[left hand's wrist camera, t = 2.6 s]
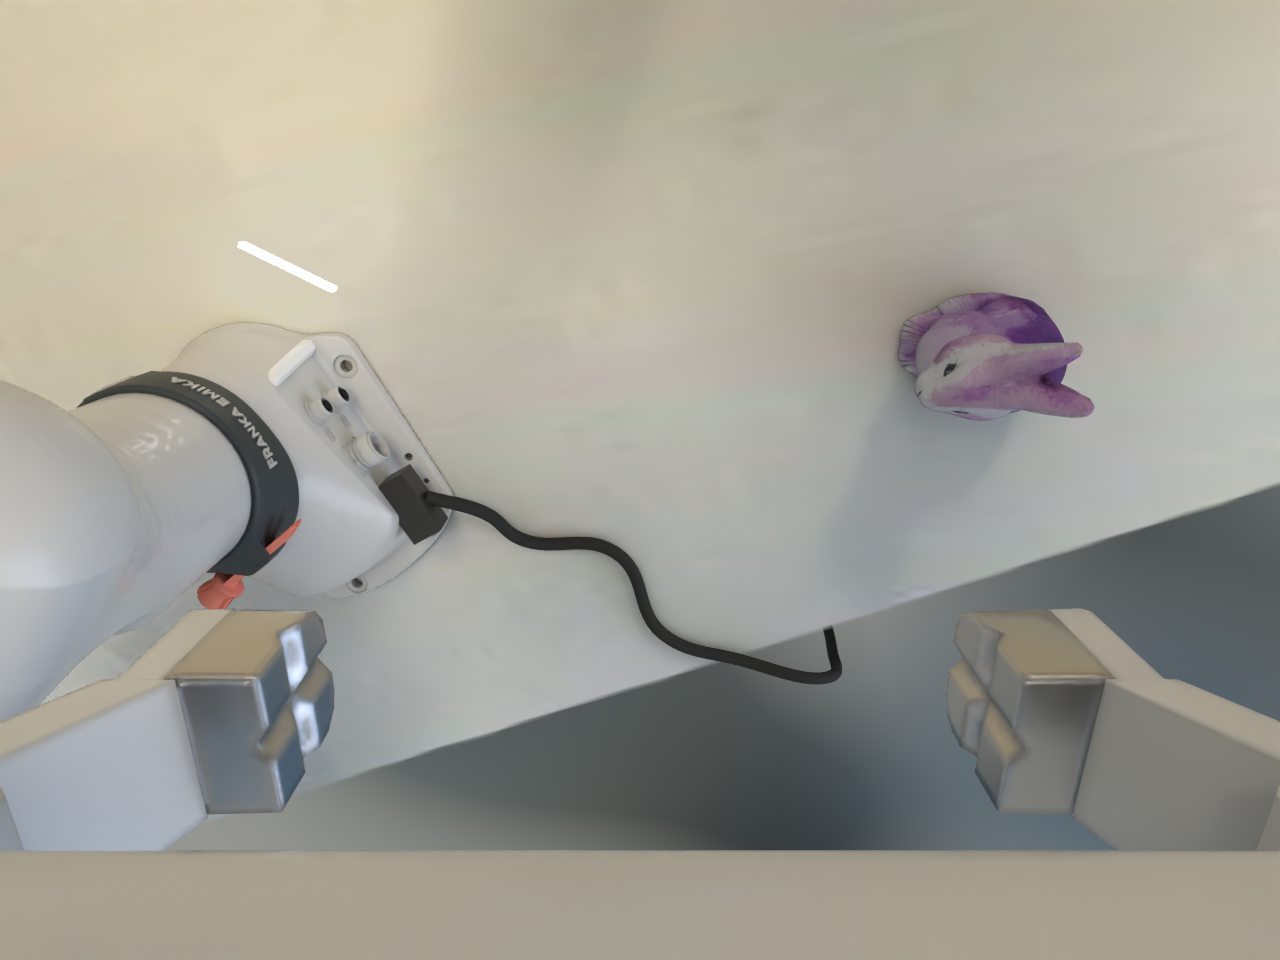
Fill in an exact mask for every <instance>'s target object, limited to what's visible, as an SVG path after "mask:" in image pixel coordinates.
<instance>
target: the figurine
mask: <svg viewBox="0 0 1280 960" xmlns="http://www.w3.org/2000/svg"><path fill="white" fill-rule="evenodd" d="M901 336H902V337H901V341H900V343H901V344H900V345H899V346H900V348H899V359H900V363H901V365H902V366H903V367H904V369H905V370H907V371H909V372H910V373H912V374H915V375H916V376H918V378H917V379H916V382H915V394H916V395H917V397H918V399H919V401H920V403H921V404H922V405H923V406H924V407H926V408H928V409H930V410H933V411H938V412H944V413H948V414H953V415H957V416H960V417H962V418H966V419H971V420H978V421H986V420H993V419H996V418H999V417H1002V416H1004V415H1006V414H1007V413H1012V412H1016V411H1019V410H1025V411H1029V412H1034V413H1040V414H1045V415H1052V416H1061V417H1069V418H1078V417H1085V416H1088V415H1090V414H1091V413H1092V412H1093V410H1094V404H1093V403H1092V401H1091V400H1090V399H1089V398H1088V397H1085V396H1083V395H1081V394H1080V393H1078V392H1077V391H1075V390H1073V389H1071V388H1069V387H1067V386H1065V385H1063V384H1061V382H1062V379H1063V377H1064V375H1065V371H1066V368H1067V364H1068V363H1070V362H1071V361H1073V360H1075V359H1076V358H1078V357H1080V355H1081V353H1082V351H1083V348H1082V345H1080V344H1079V343H1064V340H1063V337H1062V335H1061V333H1060V331H1059V329H1058V328H1057V326H1056V325H1055V324H1054V322H1053V321H1052V320H1051V318H1050V317H1049V316H1048V314H1047V313H1046V312H1045V311H1044V309H1043V308H1041V307H1040V306H1039V305H1037V304H1036V303H1035V302H1033V301H1031V300H1028V299H1023V298H1019V297H1013V296H1009V295H1006V294H1002V293H979V294H967V295H962V296H957V297H954V298H950V299H948V300H946V301H945V302H943V303H941V304H940V305H938V306H937V307H936V308H935V309H934V310H931V311H928V312H925V313H922V314H918V315H916V316H913V317H911V318H910V319H908V320H907V321H906V322H905V324H904V326H903V327H902V334H901Z"/></svg>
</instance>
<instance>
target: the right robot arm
mask: <svg viewBox="0 0 1280 960" xmlns="http://www.w3.org/2000/svg"><path fill="white" fill-rule="evenodd" d="M238 247H239V248H241V249H243V250H245V251H247V252H249V253H251V254H253V255H255V256H258V257H260V258H262V259H264V260H266V261H268V262H270V263H272V264H274V265H276V266H278V267H280V268H282V269H284V270H286V271H288V272H290V273H292V274H295V275H297V276H299V277H301V278H303V279H305V280H307V281H309V282H311V283H313V284H315V285H317V286H319V287H321V288H323V289H325V290H327V291H329V292H331V293H332V292H334V291H336V289H337V286H335V285H333V284H331V283H329V282H327V281H325V280H323V279H321V278H318V277H316V276H314V275H312V274H310V273H308V272H306V271H304V270H302V269H300V268H298V267H296V266H294V265H292V264H290V263H288V262H286V261H284V260H282V259H280V258H278V257H275V256H273V255H271V254H269V253H267V252H265V251H263V250H261V249H259V248H257V247H255V246H253V245H251V244H249V243H247V242H239V244H238ZM344 360H347V361H349V362H350V363H351V364H352V370H348V369H346V368H345V367H344ZM408 453H410V454H411V455H412V457H410V456H409V455H408ZM452 510H456V511H460V512H464V513H468V514H471V515H474V516H476V517H479V518H481V519H483V520H485V521H487V522H489V523H490V524H491V525H493V526H494V527H495V528H496V529H497V530H498V531H499V532H500V533H501V534H502V535H503V536H505V537H506V538H507V539H509V540H510V541H512V542H514V543H516V544H518V545H521V546H524V547H527V548H531V549H537V550H573V549H585V550H593V551H598V552H601V553H604V554H606V555H608V556H610V557H612V558H613V559H614V560H616V561H617V562H618V563H619V564H620V565H621V566H622V567H623V568H624V570H625V571H626V573H627V574H628V576H629V578H630V581H631V583H632V586H633V589H634V593H635V596H636V600H637V603H638V606H639V609H640V612H641V614H642V617H643V619H644V621H645V623H646V624H647V626H648V627H649V628H650V630H651V631H652V632H653V633H654V634H655V635H656V636H657V637H658V638H659V639H660V640H662V641H663V642H665V643H666V644H668V645H669V646H671V647H673V648H675V649H677V650H679V651H681V652H684V653H686V654H689V655H693V656H696V657H701V658H705V659H710V660H715V661H720V662H726V663H730V664H734V665H738V666H742V667H746V668H749V669H752V670H756V671H759V672H762V673H766V674H769V675H772V676H775V677H779V678H782V679H786V680H790V681H794V682H799V683H805V684H826V683H831V682H834V681H836V680H837V679H838V678H839V677H840V676H841V674H842V663H841V660H840V657H839V654H838V649H837V644H836V638H835V634H834V630H833V626H828V627H825V628H823V632H824V636H825V641H826V648H827V654H828V659H829V662H830V665H831V670H829V671H827V672H821V673H813V672H804V671H799V670H794V669H790V668H786V667H783V666H779V665H776V664H773V663H769V662H766V661H763V660H760V659H756V658H753V657H749V656H746V655H742V654H738V653H734V652H730V651H725V650H720V649H715V648H710V647H705V646H701V645H697V644H694V643H691V642H688V641H685V640H683V639H681V638H679V637H677V636H676V635H674V634H672V633H671V632H670V631H668V630H667V629H666V628H665V627H664V626H663V625H661V623H660V622H659V621H658V619H657V618H656V616H655V614H654V613H653V610H652V608H651V605H650V602H649V599H648V595H647V592H646V588H645V585H644V582H643V579H642V576H641V574H640V572H639V569H638V567H637V566H636V564H635V563H634V561H633V560H632V559H631V558H630V557H629V556H628V554H627V553H625V552H624V551H623V550H621V549H620V548H619V547H617V546H615V545H613V544H612V543H610V542H607V541H604V540H601V539H596V538H589V537H566V538H540V537H534V536H530V535H527V534H524V533H522V532H520V531H518V530H516V529H515V528H513V527H512V526H511V525H510V524H509V523H508V522H507V521H506V520H505V519H504V518H503V517H502V516H501V515H499V514H498V513H497V512H495V511H494V510H492V509H490V508H488V507H486V506H484V505H482V504H479V503H476V502H473V501H470V500H467V499H463V498H459V497H454V495H453V493H452V491H451V489H450V487H449V486H448V484H447V483H446V481H445V480H444V478H443V476H442V475H441V473H440V472H439V470H438V469H437V467H436V466H435V464H434V463H433V461H432V460H431V458H430V456H429V455H428V453H427V452H426V450H425V449H424V447H423V446H422V444H421V443H420V441H419V440H418V438H417V436H416V435H415V433H414V432H413V430H412V429H411V427H410V426H409V424H408V423H407V421H406V420H405V418H404V417H403V415H402V413H401V412H400V410H399V409H398V407H397V406H396V404H395V403H394V401H393V400H392V398H391V397H390V395H389V394H388V392H387V390H386V389H385V387H384V386H383V384H382V383H381V381H380V380H379V378H378V377H377V375H376V374H375V372H374V370H373V369H372V367H371V366H370V364H369V363H368V361H367V360H366V358H365V357H364V355H363V354H362V352H361V351H360V349H359V347H358V346H357V344H356V343H355V342H354V340H353V339H352V338H350V337H349V336H348V335H346V334H343V333H338V332H325V333H314V334H301V333H297V332H293V331H290V330H286V329H283V328H280V327H277V326H272V325H268V324H262V323H247V322H245V323H233V324H228V325H223V326H220V327H217V328H214V329H211V330H209V331H207V332H205V333H203V334H202V335H200V336H198V337H197V338H196V339H194V340H193V341H192V342H191V343H189V344H188V345H187V346H186V347H185V348H184V349H183V351H182V352H181V353H180V354H179V356H178V357H177V359H176V360H175V361H174V362H172V363H171V364H170V365H169V366H167V367H166V368H164V369H163V370H161V371H159V372H157V371H150V372H147V373H144V374H141V375H138V376H135V377H133V376H130V377H127V378H125V379H122V380H119V381H117V382H115V383H112V384H110V385H108V386H106V387H104V388H102V389H100V390H98V391H96V392H95V393H93V394H92V395H90V396H89V397H87V398H85V399H84V400H83V402H82V403H81V404H80V405H79V406H78V407H77V408H76V409H73V410H70V411H68V412H67V411H66V410H64V409H62V408H61V407H59V406H57V405H56V404H54V403H52V402H51V401H49V400H47V399H45V398H43V397H41V396H39V395H37V394H35V393H32V392H30V391H28V390H26V389H23V388H21V387H18V386H15V385H12V384H10V383H7V382H4V381H1V380H0V722H1V721H3V720H5V719H8V718H10V717H13V716H15V715H18V714H20V713H22V712H25V711H27V710H30V709H32V708H35V707H37V706H39V705H40V704H41V703H42V702H43V701H44V700H45V699H46V697H47V696H48V695H49V694H50V693H51V692H52V691H53V690H54V689H55V688H56V687H57V686H58V685H59V684H60V683H61V682H62V681H63V680H64V678H65V677H66V676H67V675H68V674H69V673H70V672H71V671H72V670H73V669H74V668H75V667H76V666H77V665H78V664H79V663H80V662H81V661H82V660H83V659H85V658H86V657H87V656H88V655H89V654H90V653H91V652H93V651H94V650H95V649H96V648H97V647H98V646H99V645H101V644H102V643H103V642H104V641H105V640H107V639H108V638H110V637H111V636H113V635H119V634H123V633H126V632H130V631H133V630H135V629H138V628H140V627H142V626H144V625H146V624H147V623H149V622H150V621H152V620H153V619H154V618H155V617H156V616H157V615H159V614H160V613H161V612H162V611H163V610H164V609H165V608H167V607H168V606H169V605H170V604H171V603H172V602H173V601H175V600H176V599H177V598H178V597H179V596H180V595H181V594H182V593H184V592H185V591H186V590H187V589H188V588H189V587H190V586H191V585H193V584H194V583H195V582H196V581H197V580H198V579H199V578H201V577H202V576H203V575H204V574H205V573H216V574H215V576H214V578H212V579H211V580H209V581H207V582H205V583H204V584H203V585H201V586H200V587H199V589H198V590H197V593H198V599H199V601H200V602H201V604H202V605H203V606H204V607H206V608H207V609H225V608H226V607H227V606H228V605H229V604H230V603H231V601H232V600H233V599H234V598H236V597H238V596H240V595H241V594H242V593H243V591H244V585H243V582H242V580H241V579H242V578H243V577H244V576H248V577H250V578H253V579H255V580H258V581H260V582H263V583H265V584H268V585H270V586H273V587H275V588H278V589H280V590H282V591H285V592H287V593H289V594H292V595H295V596H314V595H319V594H323V595H324V596H326V597H328V598H332V599H336V598H346V597H352V596H356V595H359V594H362V593H365V592H368V591H370V590H372V589H375V588H377V587H379V586H381V585H382V584H384V583H386V582H387V581H389V580H391V579H392V578H394V577H395V576H397V575H398V574H399V573H401V572H402V571H403V570H405V569H406V568H407V567H409V566H410V565H411V564H412V563H413V562H414V561H416V560H417V559H418V558H419V557H420V556H421V555H422V554H423V553H424V552H425V551H426V550H427V549H428V548H429V547H430V546H431V545H432V544H433V542H434V541H435V540H436V539H437V538H438V536H439V535H440V534H441V532H442V531H443V529H444V527H445V526H446V524H447V522H448V520H449V518H450V516H451V513H452ZM355 578H359V579H360V580H361V581H362V584H360V583H357V582H356V581H355Z"/></svg>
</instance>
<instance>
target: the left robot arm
mask: <svg viewBox="0 0 1280 960" xmlns="http://www.w3.org/2000/svg"><path fill="white" fill-rule="evenodd" d="M326 643H327V640H326V635H325V630H324V625H323V620H322V618H321V617H320V616H319V615H318V614H317V613H316V611H285V610H235V609H207V610H194V611H189V612H188V613H187V614H186V615H185V616H184V617H183V618H182V619H181V620H180V621H178V622H177V623H176V624H175V625H174V626H173V627H172V628H171V629H170V630H169V631H168V632H167V633H165V634H164V635H163V636H162V637H161V638H160V639H159V640H158V641H157V642H156V643H155V644H154V645H152V646H151V647H150V648H149V649H148V650H147V651H146V652H145V653H144V654H143V655H142V656H141V657H139V658H138V659H137V660H136V661H135V662H134V663H133V664H132V665H131V666H130V667H129V668H128V669H126V670H125V671H124V672H123V673H122V674H121V675H120V676H119V677H118V678H117V679H105V680H100V681H98V682H95V683H93V684H90V685H88V686H85V687H83V688H81V689H78V690H76V691H73V692H71V693H68V694H66V695H64V696H61V697H59V698H56V699H54V700H52V701H49V702H47V703H44V704H42V705H39V706H37V707H35V708H32V709H30V710H27V711H25V712H22V713H20V714H18V715H15V716H13V717H10V718H8V719H5V720H3V721H1V722H0V960H1280V722H1279V721H1277V720H1274V719H1272V718H1269V717H1267V716H1265V715H1262V714H1260V713H1257V712H1255V711H1252V710H1250V709H1248V708H1245V707H1243V706H1240V705H1238V704H1236V703H1233V702H1231V701H1228V700H1226V699H1223V698H1221V697H1219V696H1216V695H1214V694H1211V693H1209V692H1207V691H1204V690H1202V689H1199V688H1197V687H1195V686H1192V685H1190V684H1187V683H1185V682H1182V681H1180V680H1176V679H1163V678H1162V677H1161V676H1160V675H1159V674H1158V673H1157V672H1156V671H1155V670H1154V669H1153V668H1151V667H1150V666H1149V665H1148V664H1147V663H1146V662H1145V661H1144V660H1143V659H1142V658H1141V657H1140V656H1139V655H1137V654H1136V653H1135V652H1134V651H1133V650H1132V649H1131V648H1130V647H1129V646H1128V645H1127V644H1126V643H1124V642H1123V641H1122V640H1121V639H1120V638H1119V637H1118V636H1117V635H1116V634H1115V633H1114V632H1113V631H1111V630H1110V629H1109V628H1108V627H1107V626H1106V625H1105V624H1104V623H1103V622H1102V621H1101V620H1100V619H1098V618H1097V617H1096V616H1095V615H1094V614H1093V613H1092V612H1090V611H1087V610H1083V609H1060V610H1012V611H971V612H964V613H961V615H960V617H959V619H958V622H957V624H956V628H955V634H954V639H953V643H954V644H955V646H956V647H957V649H958V650H959V652H960V653H961V655H962V657H963V658H962V659H961V660H960V661H959V662H958V663H957V664H956V665H955V666H954V667H953V668H952V669H951V670H950V671H949V672H948V679H947V687H946V695H945V696H946V706H947V716H948V720H949V723H950V726H951V729H952V732H953V734H954V736H955V738H956V740H957V742H958V743H959V745H960V747H962V748H963V749H965V750H966V751H968V752H969V753H971V754H973V755H974V756H976V757H977V762H976V768H975V773H976V775H977V777H978V778H979V780H980V782H981V783H982V785H983V787H984V789H985V790H986V792H987V794H988V795H989V797H990V799H991V801H992V802H993V804H994V806H995V807H996V809H997V811H998V812H1007V813H1042V814H1073V816H1072V818H1073V819H1075V820H1076V821H1077V822H1079V823H1080V824H1081V825H1083V826H1084V827H1085V828H1087V829H1088V830H1089V831H1091V832H1092V833H1093V834H1095V835H1096V836H1097V837H1099V838H1100V839H1101V840H1103V841H1104V842H1105V843H1107V844H1108V845H1109V846H1111V847H1112V848H1113V849H1115V850H1114V851H1113V850H1112V851H1111V850H1110V851H1109V850H1107V851H164V850H166V849H167V848H168V847H170V846H171V845H172V844H174V843H175V842H176V841H178V840H179V839H180V838H182V837H183V836H184V835H186V834H187V833H188V832H190V831H191V830H192V829H193V828H195V827H196V826H198V825H199V824H200V823H202V822H203V821H204V820H206V819H207V817H208V816H207V814H237V813H272V812H282V811H283V809H284V808H285V806H286V804H287V802H288V801H289V799H290V797H291V795H292V794H293V792H294V790H295V789H296V787H297V785H298V783H299V782H300V780H301V778H302V777H303V775H304V773H305V768H304V762H303V757H304V756H306V755H307V754H309V753H311V752H312V751H314V750H315V749H317V748H318V747H320V745H321V743H322V742H323V740H324V738H325V736H326V734H327V732H328V730H329V726H330V722H331V718H332V714H333V710H334V684H333V677H332V672H331V671H330V670H329V669H328V668H327V667H326V666H325V665H324V664H323V663H322V662H321V661H320V660H319V659H318V658H317V657H318V655H319V654H320V652H321V651H322V649H323V647H324V646H325V644H326Z"/></svg>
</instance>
